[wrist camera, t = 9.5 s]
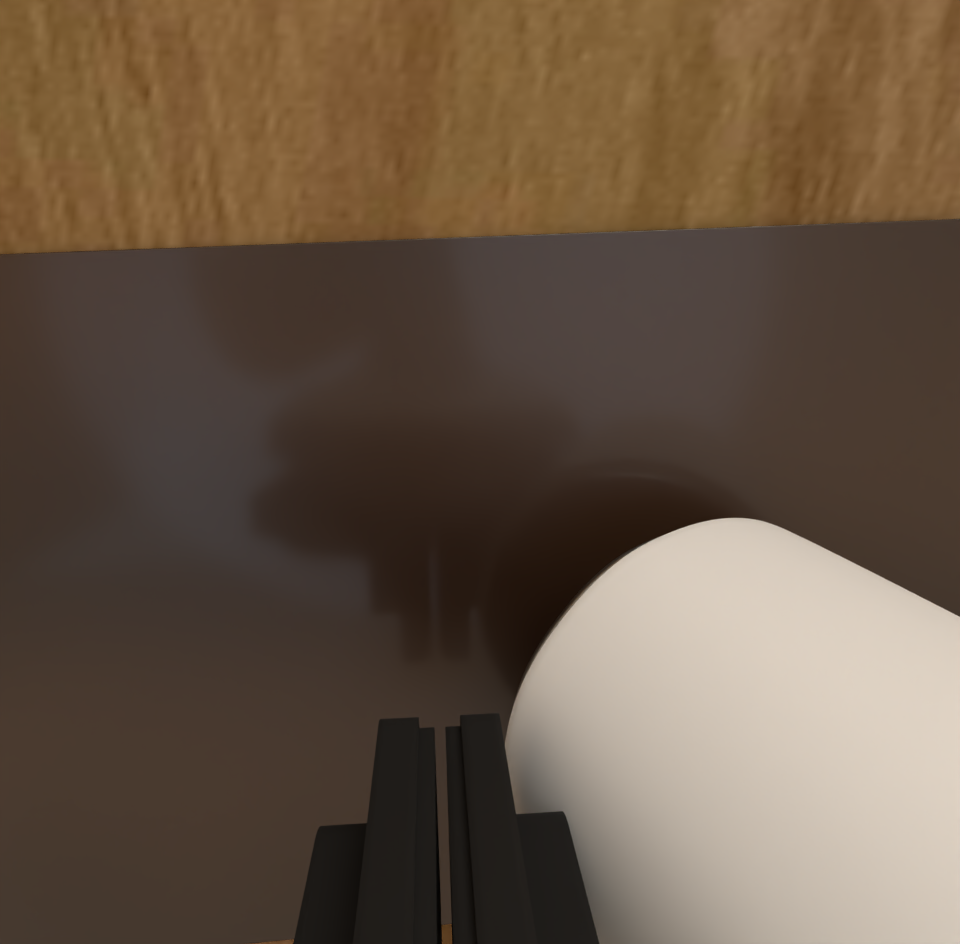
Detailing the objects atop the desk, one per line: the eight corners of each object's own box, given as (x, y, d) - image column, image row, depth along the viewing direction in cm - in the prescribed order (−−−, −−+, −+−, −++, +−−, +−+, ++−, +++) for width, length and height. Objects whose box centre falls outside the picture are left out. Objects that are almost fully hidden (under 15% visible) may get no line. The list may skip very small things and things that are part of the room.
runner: (-707, 280, 10) (-716, 280, 10) (1512, 199, 12) (1520, 198, 12) (-375, 999, 14) (-382, 1004, 14) (1307, 836, 16) (1312, 840, 16)
